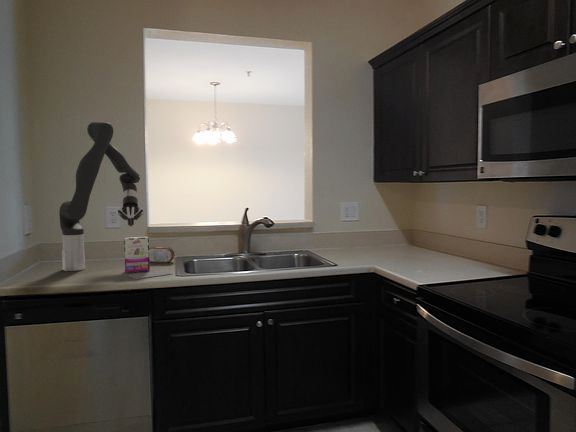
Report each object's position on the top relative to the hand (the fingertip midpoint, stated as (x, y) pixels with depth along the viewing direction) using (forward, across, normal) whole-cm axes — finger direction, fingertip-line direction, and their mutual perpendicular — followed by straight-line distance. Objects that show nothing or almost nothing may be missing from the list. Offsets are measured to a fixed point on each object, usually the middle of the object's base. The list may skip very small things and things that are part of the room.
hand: (131, 225), depth 211 cm
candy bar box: (+26, +2, +4) cm, 26 cm away
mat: (+33, +8, -4) cm, 34 cm away
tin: (+11, +14, +19) cm, 26 cm away
